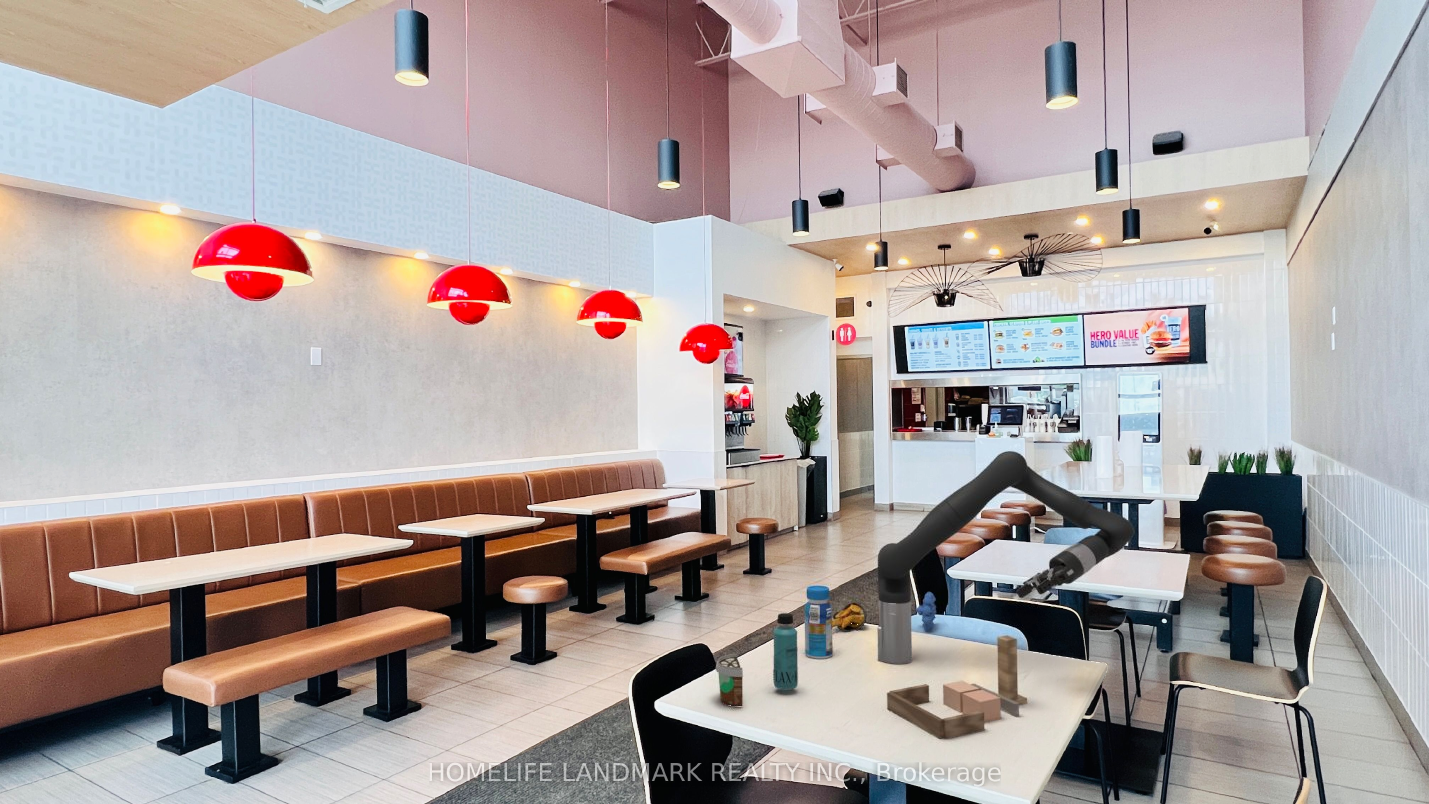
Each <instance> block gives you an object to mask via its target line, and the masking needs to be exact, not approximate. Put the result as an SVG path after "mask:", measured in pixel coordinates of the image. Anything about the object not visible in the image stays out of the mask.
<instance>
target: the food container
mask: <svg viewBox="0 0 1429 804" xmlns="http://www.w3.org/2000/svg"><path fill="white" fill-rule="evenodd" d="M738 659H739V658H738V653H730V654H726V655H722V656H721V657H719V658H718V659H717V662H716V665H715V671H716V672H717V673H718V685H719V693H720V696H719V697H720V702H721V703H722V704H723V703H724V704H723V705H725V704H726V705H725V706H727V705H731V706H743V707H744V705H743V703H744V702H743V700H744V699H743V695H744V694H743V688H744V687H743V677H744V674H743V667H741V665H740V662H739V660H738ZM731 706H730V707H731Z"/></svg>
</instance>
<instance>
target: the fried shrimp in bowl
mask: <svg viewBox="0 0 1429 804" xmlns="http://www.w3.org/2000/svg"><path fill="white" fill-rule="evenodd" d="M832 618H833V623H832V629H833V628H835V627H836V628H837V629H839V630H841V631H843V632H848V633H849V632H852V631H856V630H859V629H860V628H862V627H864V626H865V624H866V622H867V612H866V610H865V608H864V607H863V605H861V604H860V603H859V602H854V601H853V602H849V603H847V604H846V605H845V606H844V607H843V609H842V610H841V611H836V612H834V613H833V614H832ZM851 623H852V624H851ZM857 624H858V625H857Z"/></svg>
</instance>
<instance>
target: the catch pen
mask: <svg viewBox="0 0 1429 804" xmlns="http://www.w3.org/2000/svg"><path fill="white" fill-rule="evenodd" d="M929 702H930V685H928V684H926V683H925V684H924V683H923V684H920V685H915V686H910V687H904V688H899V689H898V688H897V689H894V690H889V692H886V707H887V710H888V711H890V712H891V713H893V714H895V715H897V716H898V717H901V718H903V719H904V720H906V721H908V722H909V723H910V724H913V725H915V726H916V727H918V728H920V729H922V730H923V731H925V732H927V733H929V734H931V735H933V736H934V737H936V739H937V738H938V739H940V740H941V739H945V740H947V739H951V738H952V739H953V738H956V737H960V736H965V735H969V734H973V733H978V732H982V731H985V722H984V712H983V711H976V712H971V713H967V714H963V713H962V714H958V715H954V716H950V717H945V718H941V717H939V716H937V715H935V714H933V713H931V712H930V711H928V710H926V709H924V708H922V707H921V706H918V705H919V704H925V703H926V704H927V703H929Z"/></svg>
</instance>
